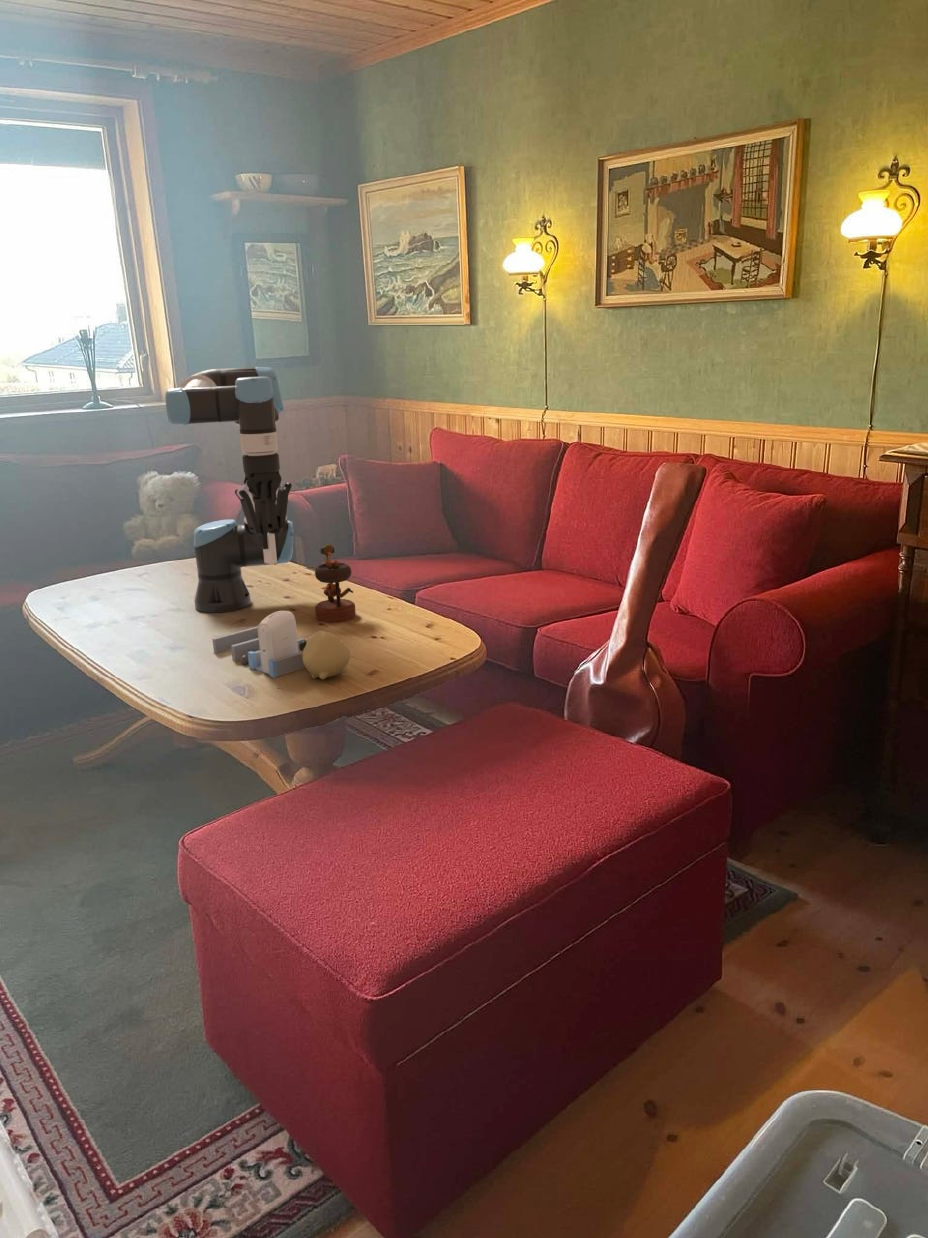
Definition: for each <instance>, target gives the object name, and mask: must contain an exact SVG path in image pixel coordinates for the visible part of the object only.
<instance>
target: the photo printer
mask: <svg viewBox="0 0 928 1238" xmlns="http://www.w3.org/2000/svg"><path fill="white" fill-rule="evenodd" d="M257 626H258V638H259V647H260V656H261V666H262V670H264V672H266V673H265V674H267V673H269V663H268V660H270V659H274V660H276V659H279V658H282V657H285V656H289V655H292V654H295V653H299V652H298V641H297V639H298V634H297V633H298V631H297V623H296V617H295V615H294V614H293V612H292V611H288V610H279V611H278V610H277V611H274V612H272V613H270V614H269V615H267V616H266V617H264V619H262V620H261V622H260V623H259V624H258V625H257ZM264 672H263V673H264Z"/></svg>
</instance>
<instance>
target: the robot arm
mask: <svg viewBox="0 0 928 1238" xmlns="http://www.w3.org/2000/svg"><path fill="white" fill-rule="evenodd" d="M279 385H280V384H279V379H278V376H277V373H276V371H275V369H273V368H272V367H267V366H266V367H265V366H257V365H256V366H244V367H243V366H242V367H227V368H210V369H206V370H202V371H199V372H197V373H194V374H192V375H190V376H188V377H187V378H186V379H184V380H183V381H182V382H181V384H180V386H179V387H177V388H169V389H167V390H166V391H165V394H164V395H165V396H164V399H165V409H166V410H165V411H166V416H167V420H168V422H169V423H170V424H172V425H184V426H187V425H196V424H197V425H198V424H206V423H207V424H208V423H211V424H212V423H234V424H235V425H236V426H237V427H238V428H239V439H240V448H241V450H240V451H241V452H242V457H241V460H242V466H243V467H242V468H243V473H244V480H243V485H242V486H241V487H240V488H238V489H237V488H236V489H234V494H235V496H236V497H237V498H238V499H239V502H240V504H241V509H242V512H243V514H244V518H243V524H238V523H237V522H236V520H235V519H232V518H231V519H220V520H216V521H211V522H206V523H204V524H202V525H200V526H198V527H196V528H195V529H194V531H193V548H194V553H195V561H196V569H197V570H196V571H197V579H198V581H197V585H196V592H195V597H194V608H195V610H197V611H199V612H202V613H225V612H233V611H237V610H241V609H244V608H246V607H248V606H250V605H251V603H252V600H251V594H250V592H249V590H248V587H247V585H246V583H245V580H244V579H243V576H242V568H244V567H245V568H247V567H257V566H270V565H272V566H273V565H274V566H277V565H280V564H286V563H289V562H290V561H291V560H292V556H293V553H294V552H293V551H294V523H293V522H292V521H291V520H288V516H287V510H288V509H287V508H288V502H289V494H290V492H291V489H292V487H293V485H292V483H290V482H286V481H285V480H283V479H282V476H281V474H280V469H281V467H280V465H281V464H280V455H279V454H278V452H277V451H278V450H279V446H278V435H277V426H276V425H277V424H278V422H279V420H280V416H279V414H280V415H281V414H282V413H284V411H285V408H284V405H283V401H282V394H281V389H280V386H279Z"/></svg>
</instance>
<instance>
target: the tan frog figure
mask: <svg viewBox="0 0 928 1238" xmlns="http://www.w3.org/2000/svg"><path fill="white" fill-rule="evenodd" d="M299 648H300V653H301V655H302V656H303V663H304V665H305V667H306V668H305V669H306V670H307V671H308V672H309V673H310V675H311V676H310V677H311V678H312V679H315V680H316V679H317V678H318V677H319V679H320V680H325V679H326V678H330V677H335V676H336V675H339V674H340V673H341V674H347V673H348V672H349V668H348V665H349V662H350V659H351V651H350V649H349V647H348V645H346V644H345V642H344V641H342V640H341V639H340V638H339V637H337V636H336V635H335V634H333V633H331V632H328V631H326V630H318V631H317V632H315V633H313V635H310V636H306V638H305V640H303V641H302V642H301V643H300V644H299Z"/></svg>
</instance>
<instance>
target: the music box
mask: <svg viewBox="0 0 928 1238" xmlns="http://www.w3.org/2000/svg"><path fill="white" fill-rule="evenodd" d="M319 553H320V555H324V556H325V563H322V564H320V565H318V566H317V567H316V568H315V571H314V576H315V578H316V580H317V581H318V582H321V583H323V584H324V583H325V584H326V587H325V589H324V590H323V594H324V595H325V596H327V599H326V600H321V601H319V602H318V603H316V605H315V606H314V613H315V620H316V621H317V622H319V623H326V624H337V623H344V622H348V621H351V620H354V619H355V618H356V616H357V614H356V613H357V612H356V604H355V602H353V601H352V600H350V599H347V598H343V597H345V596H347V594H348V593H352V594H353V593H354V591H353V590H352V589H351V588H350V587H347V588H346V589H344V591H342V590H341V588H340V583H342V582H346V581H347V580H349V579H350V577H351V575H352V568H351V566H350V565H349V564H347V563H345V562H338V560H337V559H334V560H333V562H332V560H329V558H331V556H332V554H334V553H335V547H334V546H333V545H332V544H330V543H326V544H325V545H324V546H322V547H321V548H320V549H319ZM335 597H336V598H335Z"/></svg>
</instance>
